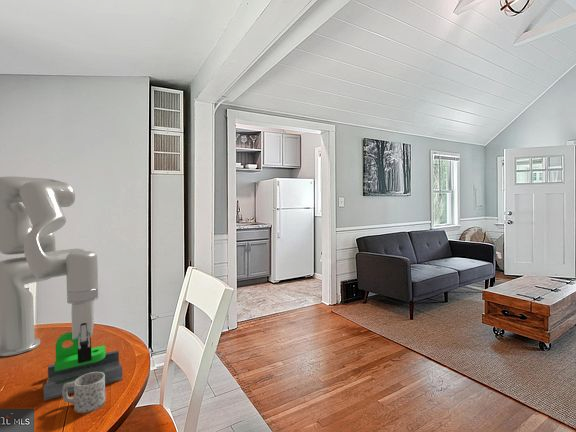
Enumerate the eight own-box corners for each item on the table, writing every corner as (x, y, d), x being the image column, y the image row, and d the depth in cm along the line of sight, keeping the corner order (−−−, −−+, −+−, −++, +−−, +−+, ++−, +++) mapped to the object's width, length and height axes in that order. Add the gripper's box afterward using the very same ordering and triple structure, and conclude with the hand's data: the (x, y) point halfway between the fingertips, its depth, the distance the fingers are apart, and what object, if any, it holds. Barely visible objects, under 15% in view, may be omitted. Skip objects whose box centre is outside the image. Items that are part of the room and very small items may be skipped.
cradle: (48, 377, 93) (48, 365, 92) (118, 360, 102) (118, 350, 102) (43, 400, 82) (43, 387, 81) (122, 379, 91) (122, 367, 91)
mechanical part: (54, 371, 86) (53, 342, 85) (56, 362, 91) (55, 334, 90) (105, 359, 92) (105, 332, 92) (105, 351, 97) (104, 325, 97)
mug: (110, 396, 83) (109, 371, 83) (96, 413, 77) (95, 386, 77) (71, 397, 83) (71, 372, 83) (53, 414, 77) (53, 387, 76)
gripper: (68, 290, 96) (70, 348, 97) (65, 305, 82) (67, 373, 82) (97, 286, 100) (98, 342, 101) (99, 300, 86) (101, 365, 86)
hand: (84, 356), depth 92 cm, fingers closed on mechanical part, 6 cm apart
